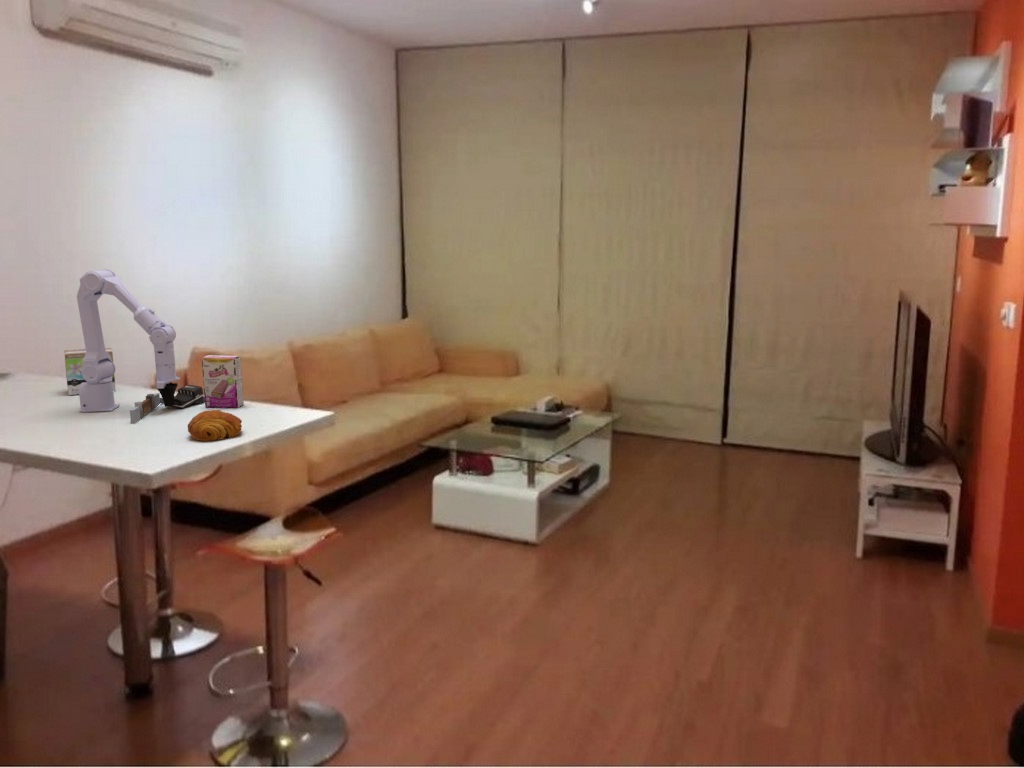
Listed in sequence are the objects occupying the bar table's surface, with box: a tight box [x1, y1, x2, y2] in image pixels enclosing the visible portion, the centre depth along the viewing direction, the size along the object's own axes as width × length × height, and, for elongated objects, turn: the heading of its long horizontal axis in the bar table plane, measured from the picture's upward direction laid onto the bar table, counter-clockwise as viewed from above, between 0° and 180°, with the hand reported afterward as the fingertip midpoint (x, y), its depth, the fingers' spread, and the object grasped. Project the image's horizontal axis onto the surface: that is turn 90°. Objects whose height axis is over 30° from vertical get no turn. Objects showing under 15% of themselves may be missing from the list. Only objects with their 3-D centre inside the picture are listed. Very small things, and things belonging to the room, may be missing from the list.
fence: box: [129, 392, 161, 424], centre depth 265 cm, size 2×25×5 cm, turn 6°
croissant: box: [187, 409, 243, 442], centre depth 239 cm, size 14×16×8 cm
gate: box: [141, 395, 153, 417], centre depth 265 cm, size 2×9×4 cm, turn 6°
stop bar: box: [160, 396, 205, 404], centre depth 281 cm, size 16×2×2 cm, turn 96°
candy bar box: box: [201, 354, 245, 409], centre depth 274 cm, size 11×5×16 cm, turn 84°
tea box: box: [64, 347, 116, 396], centre depth 299 cm, size 15×10×15 cm, turn 117°
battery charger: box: [171, 384, 204, 410], centre depth 277 cm, size 7×4×11 cm
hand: (169, 406), depth 271 cm, fingers closed
